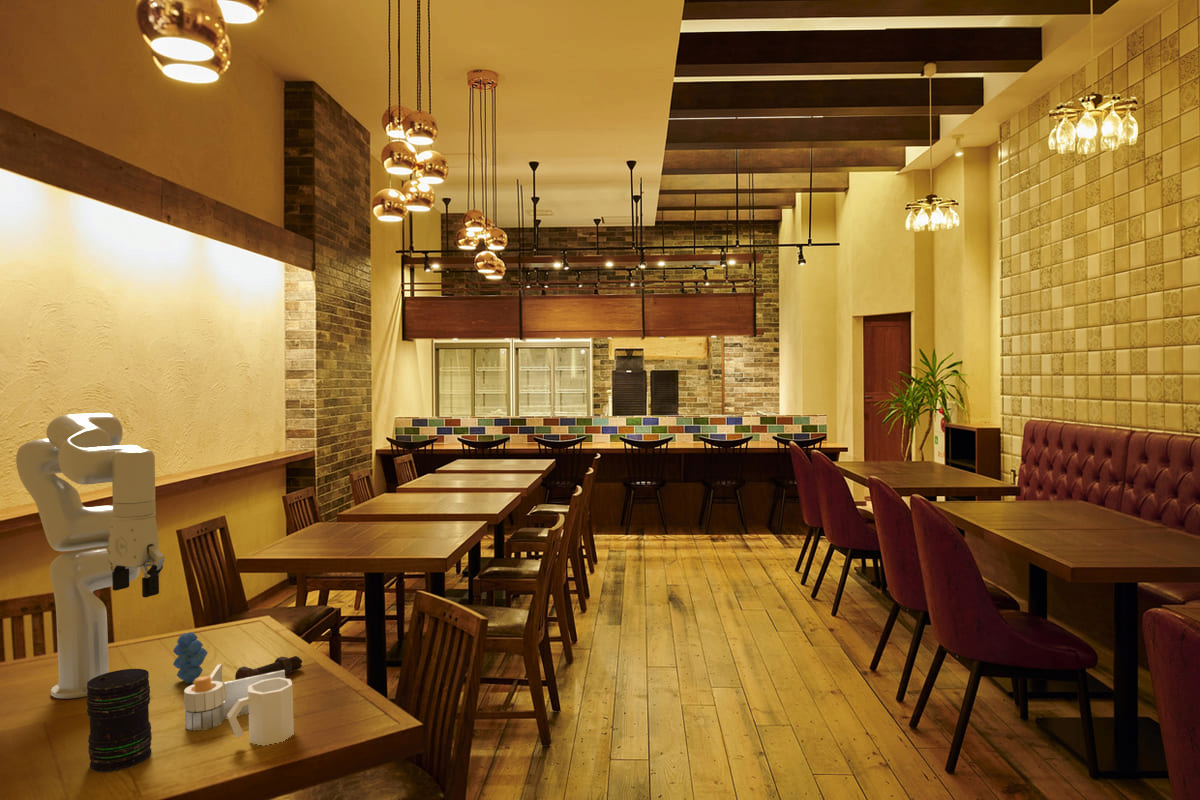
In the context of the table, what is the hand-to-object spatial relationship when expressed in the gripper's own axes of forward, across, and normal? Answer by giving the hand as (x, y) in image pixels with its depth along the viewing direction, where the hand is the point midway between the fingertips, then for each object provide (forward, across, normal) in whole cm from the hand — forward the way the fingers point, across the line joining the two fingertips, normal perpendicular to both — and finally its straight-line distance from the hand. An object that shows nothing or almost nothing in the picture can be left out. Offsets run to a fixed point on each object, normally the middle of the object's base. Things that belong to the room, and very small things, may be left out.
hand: (135, 592), depth 161 cm
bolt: (+26, +9, +26) cm, 38 cm away
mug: (+25, +33, +3) cm, 41 cm away
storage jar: (+26, +16, -13) cm, 33 cm away
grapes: (+27, -7, +18) cm, 33 cm away
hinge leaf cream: (+25, +13, +8) cm, 29 cm away
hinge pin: (+25, +16, +4) cm, 30 cm away
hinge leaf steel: (+25, +19, +9) cm, 33 cm away
